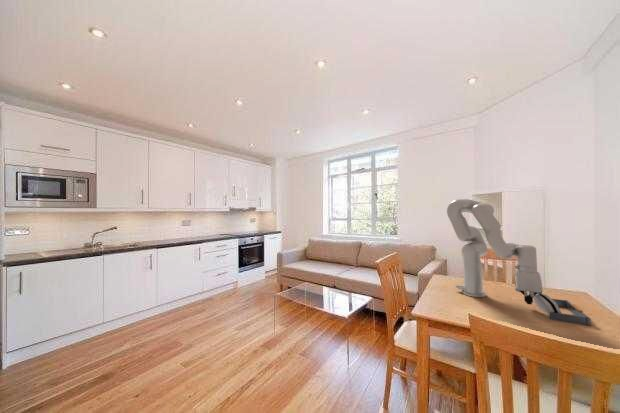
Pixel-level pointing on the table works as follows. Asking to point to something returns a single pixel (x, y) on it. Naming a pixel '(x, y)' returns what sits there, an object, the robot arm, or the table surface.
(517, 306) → the table surface
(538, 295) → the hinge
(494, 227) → the robot arm
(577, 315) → the bay
